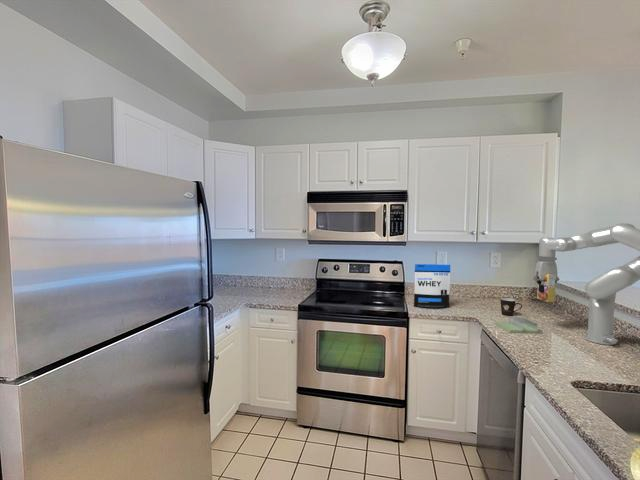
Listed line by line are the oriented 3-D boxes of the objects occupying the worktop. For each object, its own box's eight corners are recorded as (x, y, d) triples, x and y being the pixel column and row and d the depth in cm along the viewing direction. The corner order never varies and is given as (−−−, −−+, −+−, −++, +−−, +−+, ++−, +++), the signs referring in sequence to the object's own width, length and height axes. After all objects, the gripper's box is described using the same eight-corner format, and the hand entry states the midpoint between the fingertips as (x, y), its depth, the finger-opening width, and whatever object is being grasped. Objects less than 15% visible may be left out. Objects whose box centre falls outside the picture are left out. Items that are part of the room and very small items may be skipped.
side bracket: (537, 330, 177) (538, 324, 177) (522, 330, 177) (522, 324, 177) (523, 323, 190) (523, 317, 190) (508, 323, 190) (509, 317, 190)
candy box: (536, 298, 190) (537, 272, 190) (543, 298, 191) (544, 272, 190) (547, 302, 182) (548, 274, 181) (554, 302, 182) (556, 274, 181)
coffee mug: (496, 313, 216) (497, 298, 215) (505, 312, 219) (506, 297, 219) (513, 318, 205) (513, 302, 205) (522, 317, 209) (523, 301, 208)
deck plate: (541, 333, 177) (541, 330, 177) (509, 333, 177) (510, 330, 177) (523, 324, 193) (523, 321, 193) (494, 323, 193) (494, 321, 193)
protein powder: (412, 305, 236) (413, 263, 234) (446, 306, 235) (448, 263, 233) (415, 308, 226) (416, 265, 225) (451, 309, 225) (453, 265, 224)
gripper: (557, 259, 189) (556, 290, 190) (527, 259, 189) (526, 290, 190) (566, 260, 181) (565, 293, 182) (536, 260, 181) (535, 293, 182)
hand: (545, 291), depth 186 cm, fingers closed on candy box, 4 cm apart
